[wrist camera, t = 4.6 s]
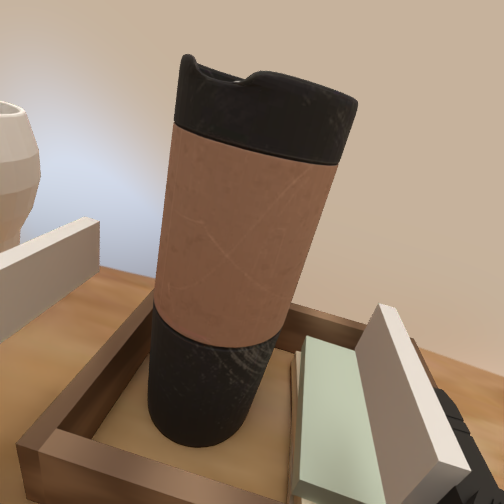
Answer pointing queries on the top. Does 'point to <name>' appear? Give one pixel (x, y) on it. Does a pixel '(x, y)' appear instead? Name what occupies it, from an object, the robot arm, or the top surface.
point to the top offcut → (333, 430)
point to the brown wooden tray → (125, 463)
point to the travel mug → (235, 238)
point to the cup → (16, 173)
